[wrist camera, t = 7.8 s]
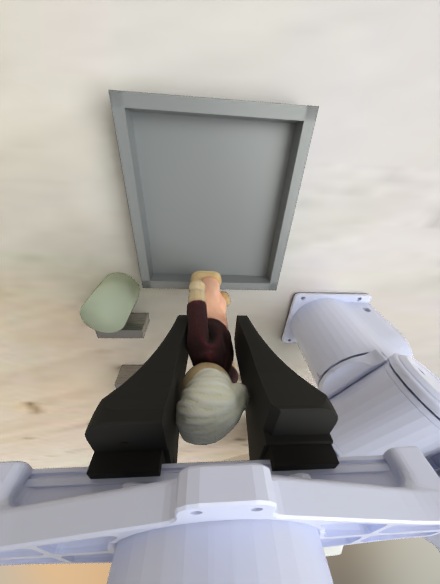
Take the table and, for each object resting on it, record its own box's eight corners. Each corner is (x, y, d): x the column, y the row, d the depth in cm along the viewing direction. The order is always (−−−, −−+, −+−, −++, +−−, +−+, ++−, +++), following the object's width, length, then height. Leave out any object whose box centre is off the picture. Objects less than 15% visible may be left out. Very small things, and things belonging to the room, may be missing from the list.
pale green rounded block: (136, 273, 23) (121, 300, 19) (142, 303, 25) (129, 332, 21) (98, 272, 23) (74, 299, 19) (107, 302, 25) (87, 332, 21)
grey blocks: (148, 313, 26) (141, 330, 24) (157, 370, 32) (153, 388, 30) (106, 312, 26) (95, 330, 23) (123, 370, 32) (116, 389, 29)
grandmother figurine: (171, 272, 19) (99, 401, 7) (208, 250, 18) (192, 357, 6) (216, 333, 22) (215, 494, 10) (250, 317, 21) (289, 472, 9)
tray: (305, 112, 16) (318, 106, 14) (270, 278, 24) (276, 290, 22) (121, 98, 15) (108, 90, 13) (148, 276, 23) (142, 287, 21)
